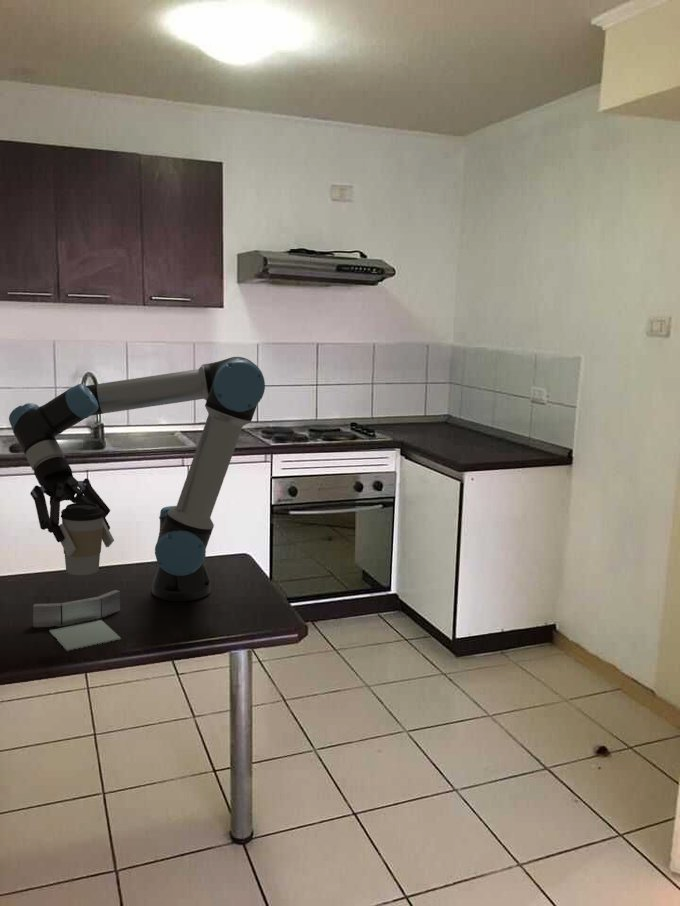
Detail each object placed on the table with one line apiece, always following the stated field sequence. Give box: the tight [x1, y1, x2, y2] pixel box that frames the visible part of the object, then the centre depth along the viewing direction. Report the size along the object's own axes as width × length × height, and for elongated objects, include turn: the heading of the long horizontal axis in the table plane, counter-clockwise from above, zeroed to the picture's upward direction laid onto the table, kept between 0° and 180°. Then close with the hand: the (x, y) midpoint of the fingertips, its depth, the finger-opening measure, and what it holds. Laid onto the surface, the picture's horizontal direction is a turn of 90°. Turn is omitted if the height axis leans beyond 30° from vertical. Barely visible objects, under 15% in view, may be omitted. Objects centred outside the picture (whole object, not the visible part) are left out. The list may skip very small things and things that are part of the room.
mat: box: [49, 619, 122, 652], centre depth 172 cm, size 12×12×1 cm
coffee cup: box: [60, 502, 104, 576], centre depth 168 cm, size 9×9×15 cm
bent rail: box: [32, 589, 121, 628], centre depth 181 cm, size 20×4×5 cm, turn 128°
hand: (91, 548), depth 167 cm, fingers closed on coffee cup, 9 cm apart
